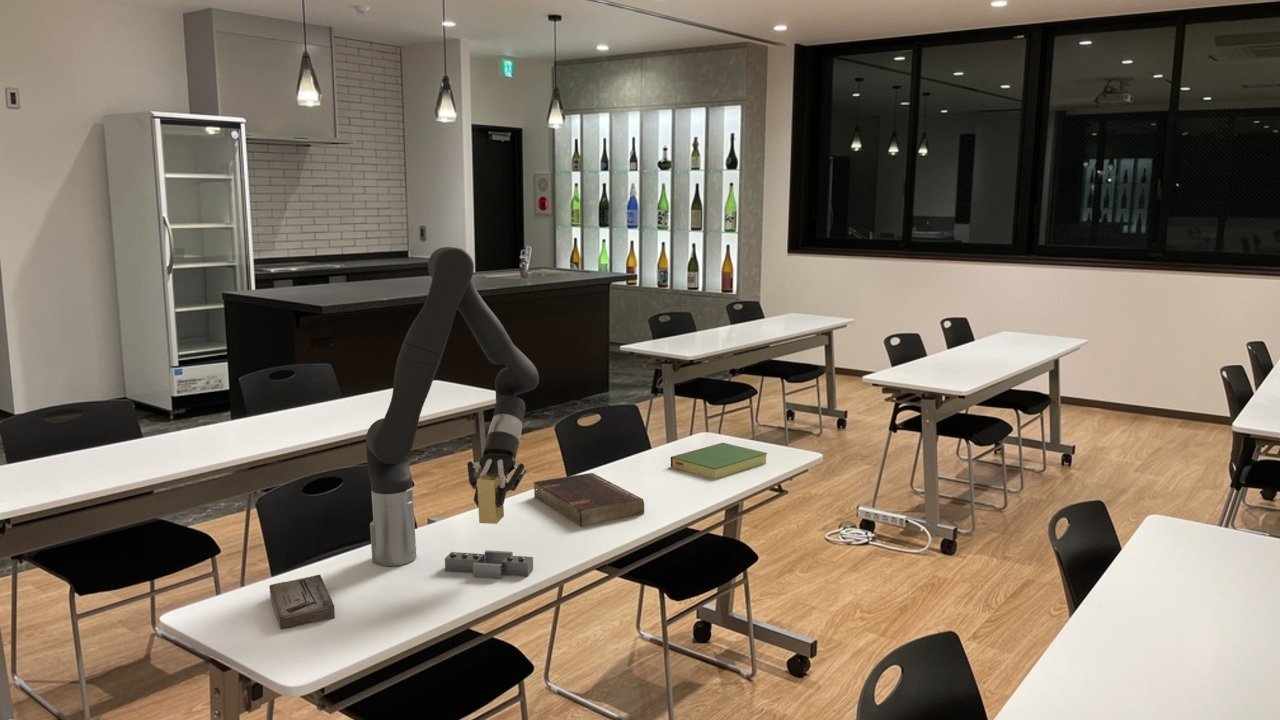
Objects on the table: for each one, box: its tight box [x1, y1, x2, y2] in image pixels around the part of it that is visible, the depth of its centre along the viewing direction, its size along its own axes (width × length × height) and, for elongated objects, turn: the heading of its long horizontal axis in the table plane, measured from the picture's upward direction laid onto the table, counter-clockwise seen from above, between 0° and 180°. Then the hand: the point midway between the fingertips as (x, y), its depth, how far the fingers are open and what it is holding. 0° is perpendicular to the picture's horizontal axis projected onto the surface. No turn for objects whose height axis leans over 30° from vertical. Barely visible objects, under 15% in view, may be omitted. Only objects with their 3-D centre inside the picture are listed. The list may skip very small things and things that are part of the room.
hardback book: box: [533, 472, 645, 528], centre depth 256 cm, size 29×19×5 cm, turn 31°
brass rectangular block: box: [477, 473, 505, 525], centre depth 209 cm, size 4×5×10 cm
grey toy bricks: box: [444, 549, 534, 580], centre depth 212 cm, size 20×8×4 cm, turn 79°
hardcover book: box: [670, 442, 768, 480], centre depth 293 cm, size 25×19×4 cm
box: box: [269, 574, 336, 630], centre depth 194 cm, size 11×17×3 cm, turn 28°
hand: (487, 505), depth 207 cm, fingers closed on brass rectangular block, 4 cm apart
